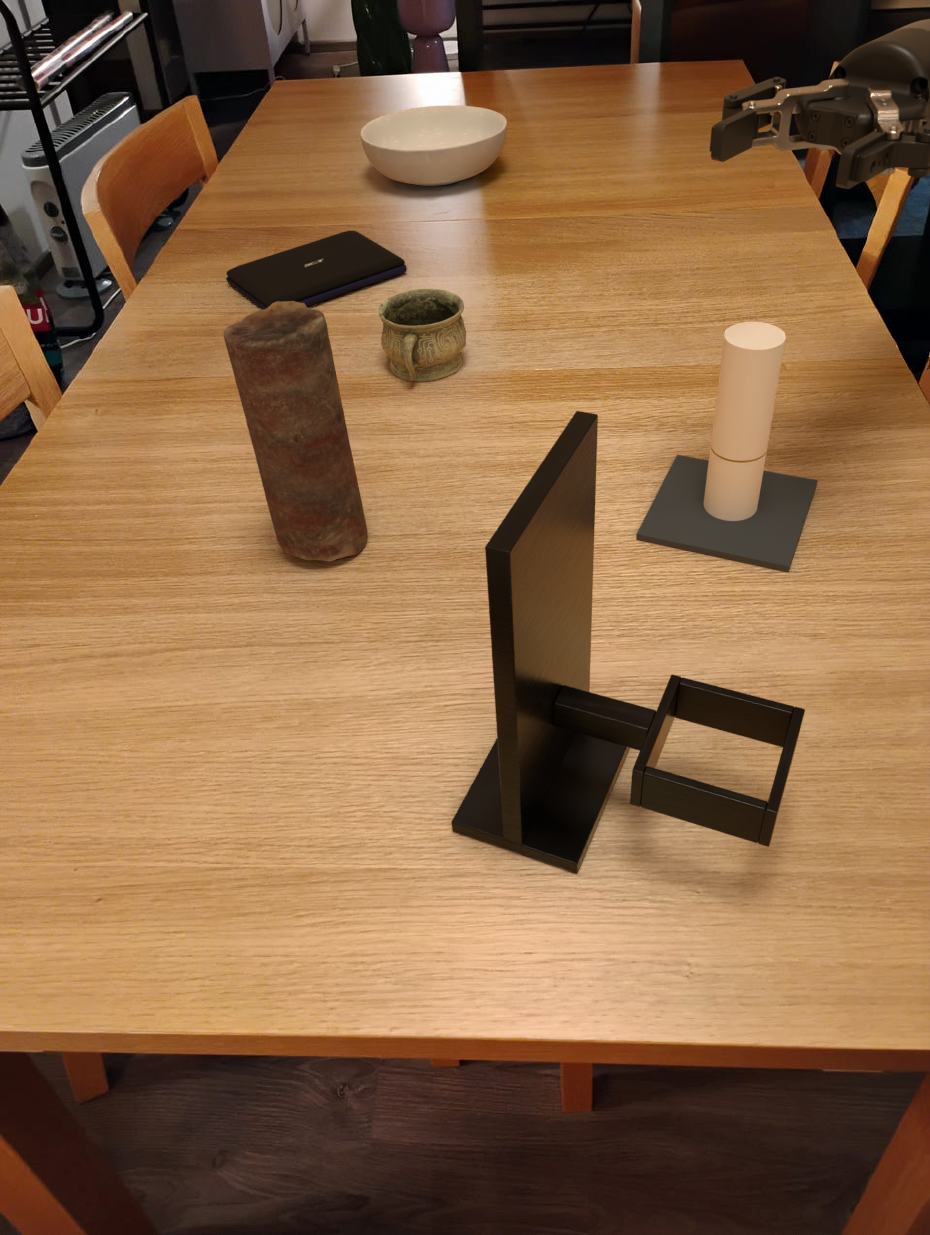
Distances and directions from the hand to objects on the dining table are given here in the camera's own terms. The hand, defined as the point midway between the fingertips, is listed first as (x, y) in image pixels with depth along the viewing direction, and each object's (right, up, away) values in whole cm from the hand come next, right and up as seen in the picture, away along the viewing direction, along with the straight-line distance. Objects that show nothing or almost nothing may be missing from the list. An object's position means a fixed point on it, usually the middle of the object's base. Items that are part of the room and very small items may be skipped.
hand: (777, 156), depth 59 cm
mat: (+3, -19, +23) cm, 30 cm away
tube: (+3, -18, +22) cm, 29 cm away
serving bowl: (-23, +37, +86) cm, 96 cm away
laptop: (-37, +14, +62) cm, 73 cm away
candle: (-30, -21, +23) cm, 44 cm away
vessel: (-23, -1, +44) cm, 50 cm away
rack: (-9, -39, +2) cm, 40 cm away
